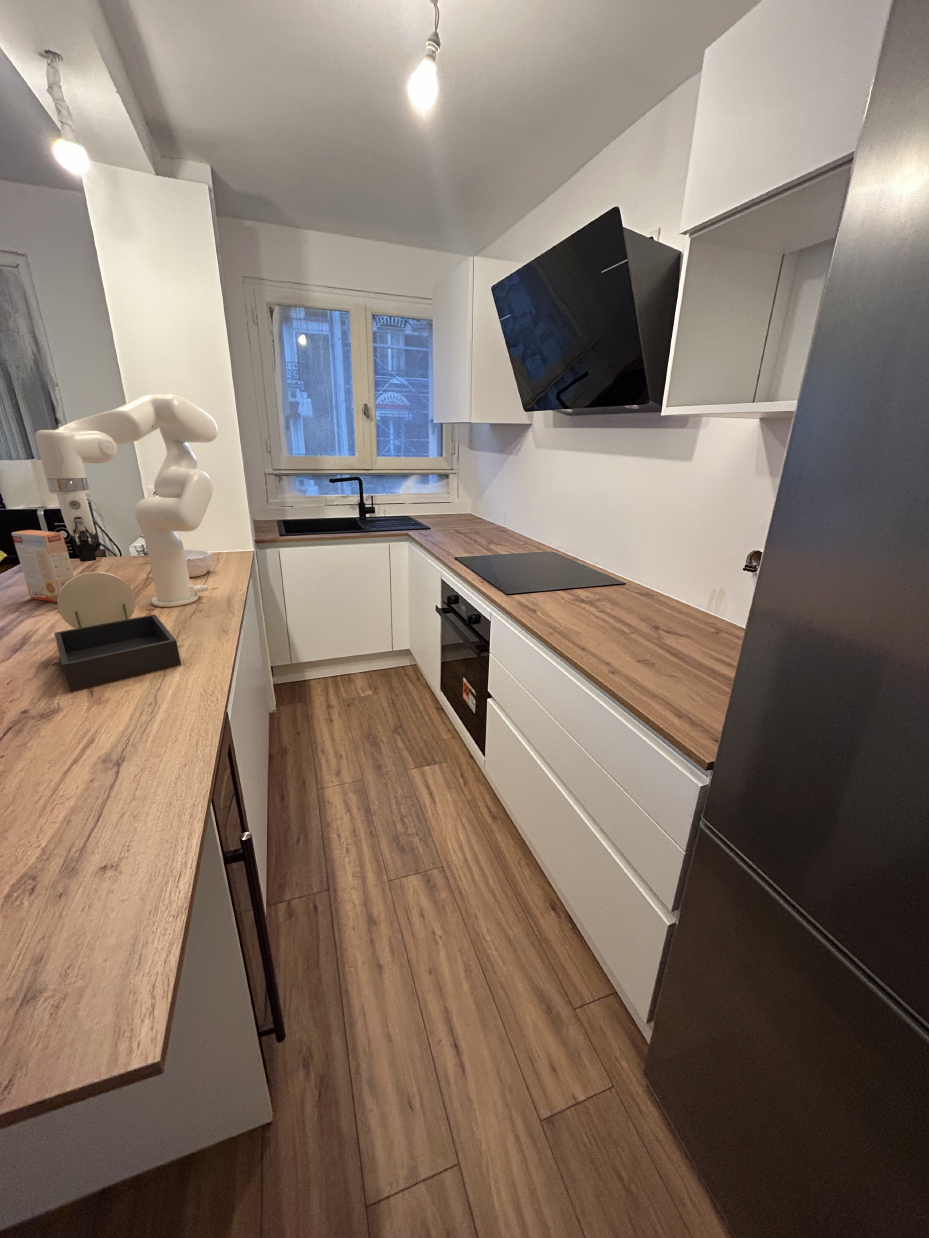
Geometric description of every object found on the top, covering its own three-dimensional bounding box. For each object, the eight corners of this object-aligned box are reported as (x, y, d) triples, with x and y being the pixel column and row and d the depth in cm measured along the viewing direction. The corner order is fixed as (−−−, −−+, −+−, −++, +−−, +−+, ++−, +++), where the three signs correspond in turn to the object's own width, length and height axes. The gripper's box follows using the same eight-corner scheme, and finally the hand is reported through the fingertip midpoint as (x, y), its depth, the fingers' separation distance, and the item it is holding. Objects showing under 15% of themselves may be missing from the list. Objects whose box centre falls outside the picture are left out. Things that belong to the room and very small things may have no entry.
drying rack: (139, 620, 135) (133, 596, 132) (144, 628, 129) (138, 604, 127) (66, 634, 125) (59, 608, 122) (69, 643, 119) (61, 617, 117)
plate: (141, 623, 132) (126, 566, 127) (142, 624, 132) (127, 567, 126) (67, 638, 123) (48, 578, 117) (68, 640, 122) (48, 579, 116)
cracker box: (81, 598, 152) (63, 532, 145) (61, 604, 147) (41, 535, 139) (51, 593, 156) (32, 528, 149) (30, 598, 151) (9, 531, 144)
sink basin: (159, 636, 125) (155, 614, 123) (181, 664, 110) (176, 640, 107) (61, 656, 112) (54, 632, 110) (70, 692, 97) (62, 665, 95)
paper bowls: (201, 580, 173) (197, 558, 171) (159, 579, 174) (154, 557, 171) (221, 569, 188) (218, 549, 185) (182, 569, 188) (179, 548, 185)
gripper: (92, 488, 110) (109, 561, 116) (84, 483, 123) (100, 550, 128) (50, 489, 106) (70, 566, 112) (46, 484, 118) (64, 553, 124)
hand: (86, 557), depth 120 cm, fingers open, 9 cm apart
